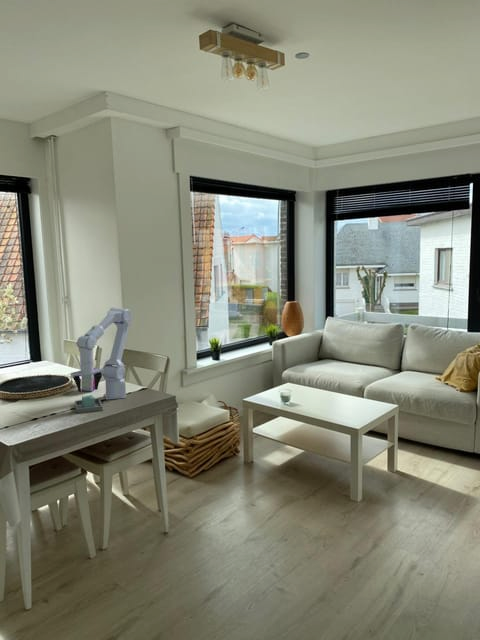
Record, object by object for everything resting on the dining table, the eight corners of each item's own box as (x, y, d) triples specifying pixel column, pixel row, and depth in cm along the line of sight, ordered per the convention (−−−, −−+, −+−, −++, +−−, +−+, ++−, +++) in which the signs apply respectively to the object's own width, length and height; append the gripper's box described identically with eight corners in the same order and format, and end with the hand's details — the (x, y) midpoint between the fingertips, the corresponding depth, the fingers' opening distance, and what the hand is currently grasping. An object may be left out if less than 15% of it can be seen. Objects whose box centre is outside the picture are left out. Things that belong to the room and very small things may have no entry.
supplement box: (92, 392, 246) (91, 370, 244) (81, 391, 247) (80, 369, 245) (97, 388, 251) (96, 367, 249) (87, 387, 252) (86, 366, 250)
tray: (99, 402, 232) (99, 398, 232) (102, 410, 222) (102, 406, 222) (74, 404, 228) (74, 400, 227) (76, 413, 218) (76, 409, 217)
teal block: (91, 404, 228) (91, 394, 227) (94, 407, 224) (94, 397, 223) (82, 405, 225) (81, 396, 224) (85, 408, 222) (84, 399, 221)
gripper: (99, 357, 228) (100, 385, 231) (68, 361, 220) (69, 390, 223) (104, 361, 222) (105, 389, 225) (72, 365, 214) (73, 394, 217)
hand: (87, 390), depth 223 cm, fingers open, 7 cm apart
